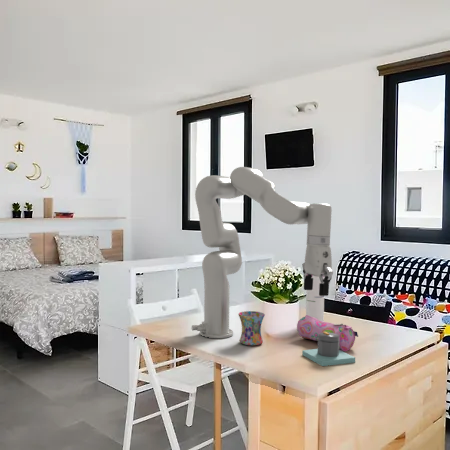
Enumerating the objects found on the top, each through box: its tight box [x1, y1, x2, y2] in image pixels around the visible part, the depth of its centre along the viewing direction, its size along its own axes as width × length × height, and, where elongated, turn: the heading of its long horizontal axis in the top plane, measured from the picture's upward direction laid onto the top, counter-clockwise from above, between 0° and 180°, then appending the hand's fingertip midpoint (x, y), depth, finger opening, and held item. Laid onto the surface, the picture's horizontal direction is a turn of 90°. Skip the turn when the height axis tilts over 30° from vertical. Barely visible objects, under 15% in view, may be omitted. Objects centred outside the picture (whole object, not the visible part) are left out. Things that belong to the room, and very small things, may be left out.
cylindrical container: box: [305, 275, 325, 322], centre depth 197 cm, size 7×7×25 cm
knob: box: [317, 332, 340, 357], centre depth 154 cm, size 6×6×6 cm
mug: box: [238, 310, 266, 346], centre depth 171 cm, size 12×9×11 cm
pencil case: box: [296, 314, 359, 352], centre depth 170 cm, size 21×9×9 cm, turn 37°
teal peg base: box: [301, 348, 356, 367], centre depth 154 cm, size 12×12×5 cm
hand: (315, 292), depth 158 cm, fingers open, 9 cm apart
